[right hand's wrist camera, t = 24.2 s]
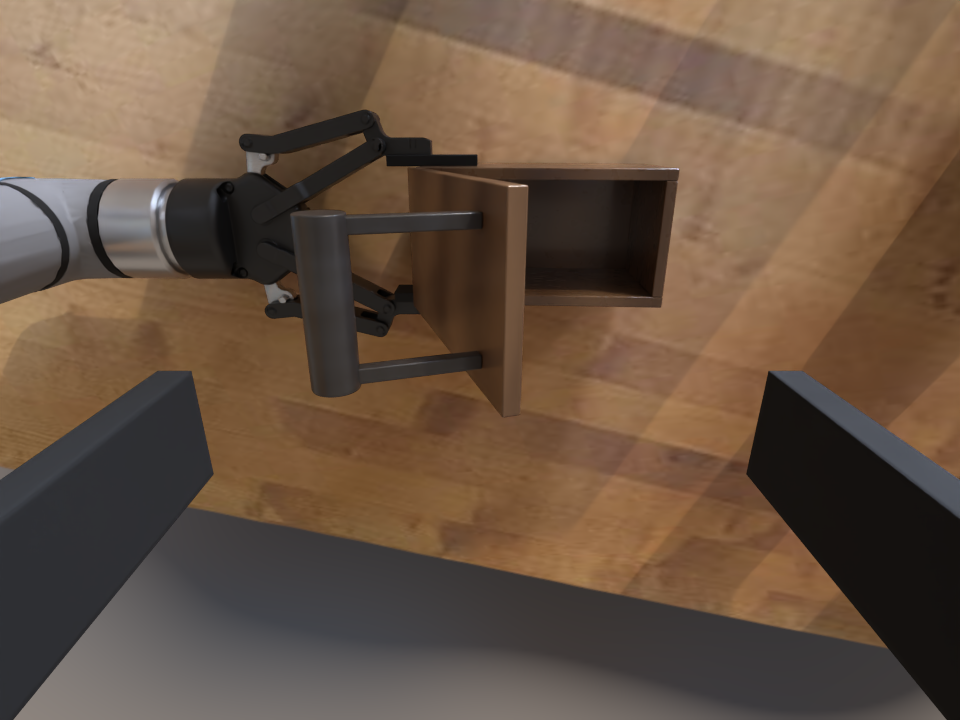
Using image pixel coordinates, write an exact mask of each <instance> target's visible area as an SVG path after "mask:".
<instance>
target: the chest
mask: <svg viewBox="0 0 960 720" xmlns="http://www.w3.org/2000/svg"><path fill="white" fill-rule="evenodd" d="M416 168H425V169H432V170H438V171H444V172H450V173H456V174H462V175H468V176H475V177H481V178H487V179H493V180H499V181H505V182H511V183H518V184H524V185H528V211H527V240H526V268H525V297H524V305H546V306H603V307H661V305H662V296H663V288H664V281H665V273H666V266H667V258H668V251H669V243H670V236H671V228H672V221H673V213H674V206H675V198H676V191H677V183H678V182H677V180H678V177H679V169H677V168H670V167H662V166H654V165H647V164H546V163H477V166H420V167H416Z"/></svg>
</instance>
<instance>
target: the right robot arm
mask: <svg viewBox="0 0 960 720" xmlns="http://www.w3.org/2000/svg"><path fill="white" fill-rule="evenodd" d="M212 476H213V469H212V464H211V460H210V455H209V450H208V446H207V441H206V437H205V432H204V427H203V423H202V418H201V413H200V409H199V404H198V399H197V395H196V390H195V386H194V381H193V376H192V372H191V371H157V372H155V373H154V374H153V375H151V376H150V377H148V378H147V379H145V380H144V381H142V382H141V383H140V384H138V385H137V386H135V387H134V388H132V389H131V390H129V391H128V392H127V393H125V394H124V395H122V396H121V397H119V398H118V399H116V400H115V401H114V402H112V403H111V404H109V405H108V406H106V407H105V408H103V409H102V410H101V411H99V412H98V413H96V414H95V415H93V416H92V417H90V418H89V419H88V420H86V421H85V422H83V423H82V424H80V425H79V426H77V427H76V428H75V429H73V430H72V431H70V432H69V433H67V434H66V435H65V436H63V437H62V438H60V439H59V440H57V441H56V442H54V443H53V444H52V445H50V446H49V447H47V448H46V449H44V450H43V451H41V452H40V453H39V454H37V455H36V456H34V457H33V458H31V459H30V460H28V461H27V462H26V463H24V464H23V465H21V466H20V467H18V468H17V469H15V470H14V471H13V472H11V473H10V474H8V475H7V476H5V477H4V478H2V479H1V480H0V720H13V719H14V718H15V717H16V716H17V714H18V713H19V712H20V711H21V710H22V708H23V707H24V706H25V705H26V703H27V702H28V701H29V700H30V699H31V697H32V696H33V695H34V694H35V692H36V691H37V690H38V689H39V687H40V686H41V685H42V684H43V683H44V681H45V680H46V679H47V678H48V677H49V675H50V674H51V673H52V672H53V670H54V669H55V668H56V667H57V665H58V664H59V663H60V662H61V661H62V659H63V658H64V657H65V656H66V654H67V653H68V652H69V651H70V650H71V648H72V647H73V646H74V645H75V643H76V642H77V641H78V640H79V638H80V637H81V636H82V635H83V634H84V632H85V631H86V630H87V629H88V627H89V626H90V625H91V624H92V622H93V621H94V620H95V619H96V618H97V616H98V615H99V614H100V613H101V611H102V610H103V609H104V608H105V607H106V605H107V604H108V603H109V602H110V601H111V599H112V598H113V597H114V596H115V594H116V593H117V592H118V591H119V589H120V588H121V587H122V586H123V585H124V583H125V582H126V581H127V580H128V578H129V577H130V576H131V575H132V574H133V572H134V571H135V570H136V569H137V567H138V566H139V565H140V564H141V563H142V561H143V560H144V559H145V558H146V556H147V555H148V554H149V553H150V552H151V550H152V549H153V548H154V547H155V545H156V544H157V543H158V542H159V540H160V539H161V538H162V537H163V536H164V534H165V533H166V532H167V531H168V529H169V528H170V527H171V526H172V525H173V523H174V522H175V521H176V520H177V518H178V517H179V516H180V515H181V513H182V512H183V511H184V510H185V509H186V507H187V506H188V505H189V504H190V502H191V501H192V500H193V499H194V498H195V496H196V495H197V494H198V493H199V491H200V490H201V489H202V488H203V487H204V485H205V484H206V483H207V482H208V480H209V479H210V478H211V477H212ZM747 476H748V477H749V478H750V479H751V480H752V482H753V483H754V484H755V485H756V487H757V488H758V489H759V490H760V491H761V493H762V494H763V495H764V496H765V498H766V499H767V500H768V501H769V502H770V504H771V505H772V506H773V507H774V509H775V510H776V511H777V512H778V514H779V515H780V516H781V517H782V518H783V520H784V521H785V522H786V523H787V525H788V526H789V527H790V528H791V529H792V531H793V532H794V533H795V534H796V536H797V537H798V538H799V539H800V540H801V542H802V543H803V544H804V545H805V547H806V548H807V549H808V550H809V552H810V553H811V554H812V555H813V556H814V558H815V559H816V560H817V561H818V563H819V564H820V565H821V566H822V567H823V569H824V570H825V571H826V572H827V574H828V575H829V576H830V577H831V578H832V580H833V581H834V582H835V583H836V585H837V586H838V587H839V588H840V589H841V591H842V592H843V593H844V594H845V596H846V597H847V598H848V599H849V601H850V602H851V603H852V604H853V605H854V607H855V608H856V609H857V610H858V612H859V613H860V614H861V615H862V616H863V618H864V619H865V620H866V621H867V623H868V624H869V625H870V626H871V627H872V629H873V630H874V631H875V632H876V634H877V635H878V636H879V637H880V639H881V640H882V641H883V642H884V643H885V645H886V646H887V647H888V648H889V650H890V651H891V652H892V653H893V654H894V656H895V657H896V658H897V659H898V661H899V662H900V663H901V664H902V665H903V667H904V668H905V669H906V670H907V672H908V673H909V674H910V675H911V677H912V678H913V679H914V680H915V681H916V683H917V684H918V685H919V686H920V688H921V689H922V690H923V691H924V692H925V694H926V695H927V696H928V697H929V699H930V700H931V701H932V702H933V703H934V705H935V706H936V707H937V708H938V710H939V711H940V712H941V713H942V714H943V716H944V717H945V718H946V719H947V720H960V480H959V479H958V478H956V477H955V476H953V475H952V474H950V473H949V472H947V471H946V470H945V469H943V468H942V467H940V466H939V465H937V464H936V463H934V462H933V461H932V460H930V459H929V458H927V457H926V456H924V455H923V454H921V453H920V452H919V451H917V450H916V449H914V448H913V447H911V446H910V445H908V444H907V443H906V442H904V441H903V440H901V439H900V438H898V437H897V436H895V435H894V434H893V433H891V432H890V431H888V430H887V429H885V428H884V427H883V426H881V425H880V424H878V423H877V422H875V421H874V420H872V419H871V418H870V417H868V416H867V415H865V414H864V413H862V412H861V411H859V410H858V409H857V408H855V407H854V406H852V405H851V404H849V403H848V402H846V401H845V400H844V399H842V398H841V397H839V396H838V395H836V394H835V393H833V392H832V391H831V390H829V389H828V388H826V387H825V386H823V385H822V384H820V383H819V382H818V381H816V380H815V379H813V378H812V377H810V376H809V375H807V374H806V373H805V372H803V371H769V372H768V376H767V381H766V386H765V390H764V395H763V399H762V404H761V409H760V413H759V418H758V423H757V427H756V432H755V437H754V441H753V446H752V450H751V455H750V460H749V464H748V469H747Z"/></svg>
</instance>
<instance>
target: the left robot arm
mask: <svg viewBox="0 0 960 720" xmlns="http://www.w3.org/2000/svg"><path fill="white" fill-rule="evenodd" d="M360 133H364V136H365V138H366V141H367V142H366V143H364V144H362V145H361V146H359V147H357V148H356V149H354V150H352V151H351V152H349V153H347V154H346V155H344V156H342V157H341V158H339V159H337V160H336V161H334V162H332V163H331V164H329V165H327V166H326V167H324V168H322V169H321V170H319V171H317V172H316V173H314V174H312V175H311V176H309V177H307V178H306V179H304V180H302V181H301V182H298V183H296V184H294V185H293V186H291V187H289V188H288V189H287V188H286V187H284V186H283V185H281V184H280V183H278V182H277V181H275V180H274V179H273V178H271V177H270V176H268V175H267V174H265V170H266V168H267V167H268V166H269V165H273V164H276V163H277V162H278V160H279V154H284V153H292V152H296V151H299V150H303V149H307V148H310V147H314V146H317V145H321V144H324V143H328V142H331V141H335V140H338V139H342V138H345V137H349V136H352V135H356V134H360ZM239 144H240V146H241V148H242V149H243V150H244V151H246V160H247V173H245V174H243V175H242V176H240V177H238V178H235V179H183V180H181V181H178V180H175V179H110V180H92V179H36V178H33V177H7V178H0V304H1V303H4V302H7V301H10V300H13V299H16V298H18V297H21V296H24V295H27V294H30V293H33V292H37V291H42V290H45V289H48V288H52V287H55V286H58V285H61V284H64V283H67V282H70V281H74V280H79V279H94V278H158V279H185V278H190V277H191V276H192V277H194V278H199V279H252V280H255V281H257V282H259V283H261V284H264V286H265V290H266V294H267V298H268V302H269V305H267V306H266V308H265V313H266V315H267V316H268V317H269V318H273V319H275V318H286V317H298V318H302V319H303V317H302V309H301V301H300V295H296V292H295V291H294V290H293V289H291V288H286V287H284V286H283V285H282V284H281V282H280V280H281V279H282V278H283V277H285V276H286V275H287V274H288V273H290V272H291V271H292V272H294V273H296V274H297V269H296V260H295V252H294V244H293V236H292V228H291V220H290V214H291V213H293V212H297V211H306V210H310V209H309V208H307V206H306V204H305V203H306V202H307V201H309V200H311V199H313V198H314V197H316V196H317V195H319V194H320V193H322V192H323V191H325V190H327V189H329V188H330V187H332V186H334V185H335V184H337V183H339V182H340V181H342V180H344V179H345V178H347V177H349V176H350V175H352V174H354V173H356V172H357V171H359V170H361V169H362V168H364V167H366V166H367V165H369V164H371V163H372V162H374V161H376V160H378V159H379V158H381V157H383V156H386V161H387V166H477V155H432V141H431V140H429V139H426V138H391V137H389V136H387V135H386V134H385V133H384V131H383V128H382V126H381V123H380V118H379V116H378V115H377V114H376V113H374V112H371V111H368V110H361V111H358V112H354V113H351V114H347V115H344V116H340V117H337V118H333V119H330V120H326V121H323V122H319V123H316V124H312V125H309V126H305V127H302V128H298V129H295V130H291V131H288V132H284V133H281V134H277V135H274V136H269V135H258V134H243V135H242V136H241V137H240V139H239ZM351 274H352V285H353V297H354V300H355V301H357V302H359V303H361V304H363V305H365V306H367V307H369V308H371V309H373V310H375V311H377V312H374V311H370V310H366V309H362V308H358V307H354V309H355V320H356V331H357V332H361V333H365V334H369V335H374V336H378V337H383V336H385V335H386V334H387V333H388V331H389V329H390V327H391V325H392V321H393V318H394V316H396V315H398V314H420V313H419V311H418V310H417V309H416V308H415V306H414V301H413V285H399V286H398V288H397V290H396V291H395V293H394V294H393V293H391V292H389V291H387V290H385V289H383V288H381V287H379V286H377V285H375V284H373V283H371V282H370V281H368V280H366V279H364V278H362V277H360V276H358V275H356V274H354V273H352V272H351Z"/></svg>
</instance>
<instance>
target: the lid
mask: <svg viewBox="0 0 960 720" xmlns="http://www.w3.org/2000/svg"><path fill="white" fill-rule="evenodd" d="M408 188H409V210H410V213H387V214H357V215H346V212H344V211H340V210H306V211H297V212H293V213H291V214H290V220H291V228H292V236H293V244H294V252H295V260H296V269H297V277H298V285H299V293H300V301H301V309H302V317H303V325H304V333H305V341H306V349H307V357H308V365H309V373H310V381H311V389H312V391H313V393H314V394H316V395H318V396H322V397H341V396H346V395H349V394H352V393H354V392H356V391H357V390H358V389H359V388H360V386H361V384H365V383H373V382H381V381H389V380H397V379H405V378H413V377H421V376H429V375H436V374H444V373H452V372H460V371H466V372H467V373H468V375H469V376H470V377H471V378H472V380H473V381H474V382H475V383H476V385H477V386H478V387H479V388H480V390H481V391H482V392H483V393H484V395H485V396H486V397H487V399H488V400H489V401H490V402H491V404H492V405H493V406H494V407H495V409H496V410H497V411H498V412H499V414H500V415H501V416H502V417H510V416H516V415H520V411H521V382H522V354H523V325H524V297H525V268H526V240H527V211H528V185H524V184H518V183H511V182H505V181H499V180H493V179H487V178H481V177H475V176H468V175H462V174H456V173H450V172H444V171H438V170H432V169H425V168H408ZM406 232H410V233H411V256H412V278H413V301H414V306H415V308H416V309H417V310H418V311H419V313H420V314H421V315H422V316H423V318H424V319H425V320H426V322H427V323H428V324H429V325H430V327H431V328H432V329H433V330H434V332H435V333H436V334H437V335H438V337H439V338H440V339H441V340H442V342H443V343H444V344H445V346H446V347H447V348H448V349H449V351H450V352H451V353H452V354H444V355H435V356H426V357H417V358H409V359H400V360H391V361H383V362H374V363H365V364H359V355H358V343H357V332H356V320H355V309H354V297H353V285H352V274H351V262H350V251H349V239H348V235H361V234H384V233H406Z"/></svg>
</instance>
